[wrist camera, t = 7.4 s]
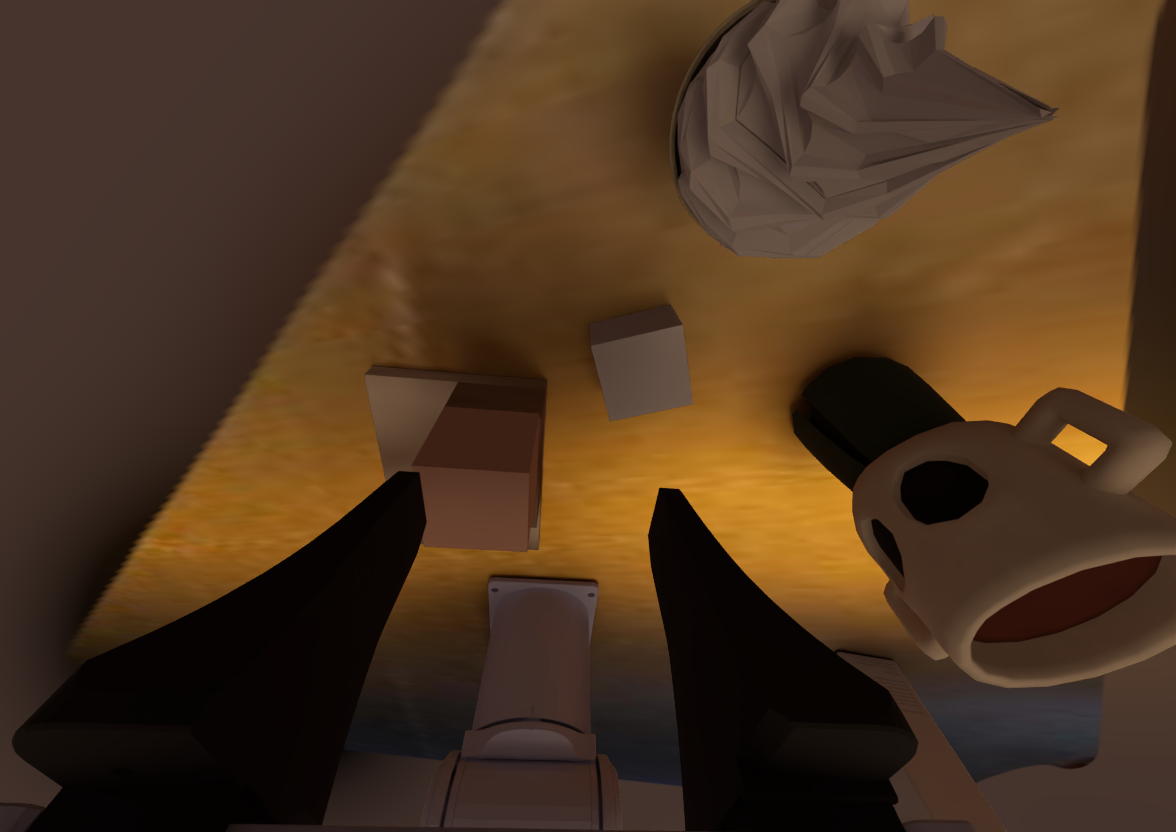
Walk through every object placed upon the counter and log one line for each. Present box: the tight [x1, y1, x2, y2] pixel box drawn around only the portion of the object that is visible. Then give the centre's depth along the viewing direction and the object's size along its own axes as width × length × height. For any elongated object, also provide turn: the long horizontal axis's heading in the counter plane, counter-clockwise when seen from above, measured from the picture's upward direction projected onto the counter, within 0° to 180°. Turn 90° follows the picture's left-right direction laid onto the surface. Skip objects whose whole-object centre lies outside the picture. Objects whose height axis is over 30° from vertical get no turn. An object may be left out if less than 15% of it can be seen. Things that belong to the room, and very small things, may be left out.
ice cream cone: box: [669, 0, 1059, 258], centre depth 10 cm, size 5×5×15 cm
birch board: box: [364, 366, 547, 550], centre depth 25 cm, size 12×9×1 cm
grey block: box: [590, 305, 693, 421], centre depth 20 cm, size 4×4×3 cm
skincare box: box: [836, 652, 1007, 832], centre depth 32 cm, size 6×4×12 cm
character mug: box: [793, 357, 1176, 688], centre depth 18 cm, size 11×7×13 cm, turn 171°
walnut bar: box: [445, 382, 546, 528], centre depth 22 cm, size 7×4×3 cm, turn 175°
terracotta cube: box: [411, 406, 539, 552], centre depth 18 cm, size 4×4×4 cm
